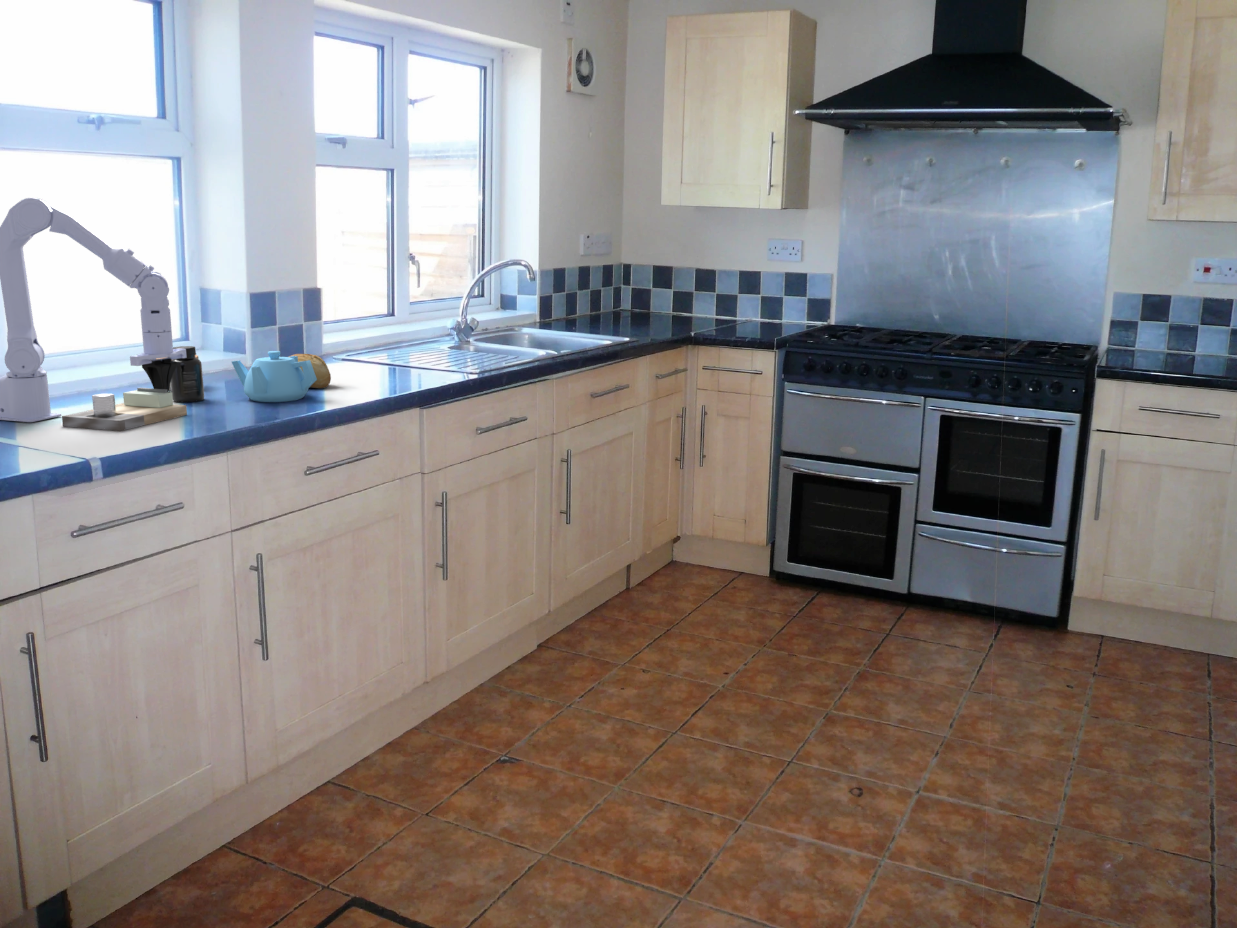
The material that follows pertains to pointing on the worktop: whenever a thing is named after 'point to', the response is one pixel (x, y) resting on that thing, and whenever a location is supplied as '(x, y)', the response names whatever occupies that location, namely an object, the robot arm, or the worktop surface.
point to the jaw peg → (104, 405)
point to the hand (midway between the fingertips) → (162, 395)
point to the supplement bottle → (187, 377)
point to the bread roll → (317, 369)
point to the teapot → (276, 378)
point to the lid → (148, 398)
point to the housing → (124, 417)
